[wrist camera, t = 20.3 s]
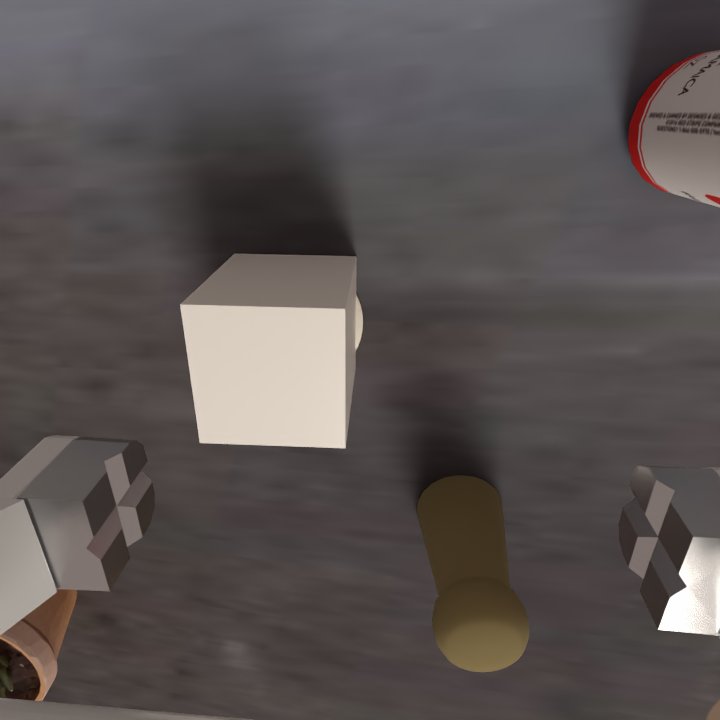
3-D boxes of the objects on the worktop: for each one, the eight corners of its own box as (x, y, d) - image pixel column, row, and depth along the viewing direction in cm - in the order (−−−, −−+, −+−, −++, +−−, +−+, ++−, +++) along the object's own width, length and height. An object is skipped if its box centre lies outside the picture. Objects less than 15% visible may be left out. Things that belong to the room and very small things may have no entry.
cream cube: (356, 256, 30) (345, 308, 22) (355, 366, 33) (345, 448, 25) (234, 253, 30) (180, 304, 22) (244, 363, 33) (199, 442, 25)
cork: (512, 529, 38) (557, 677, 28) (432, 550, 39) (448, 699, 29) (488, 464, 36) (527, 600, 26) (404, 489, 37) (410, 628, 27)
